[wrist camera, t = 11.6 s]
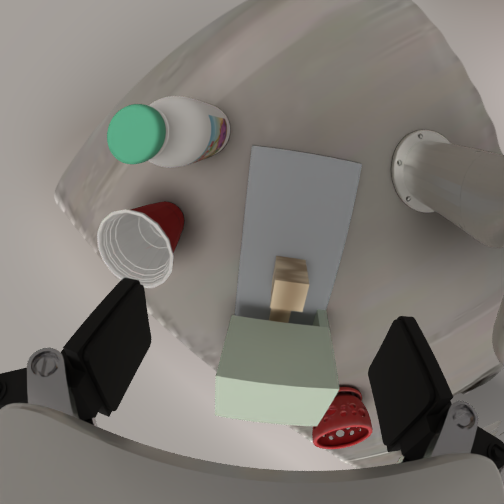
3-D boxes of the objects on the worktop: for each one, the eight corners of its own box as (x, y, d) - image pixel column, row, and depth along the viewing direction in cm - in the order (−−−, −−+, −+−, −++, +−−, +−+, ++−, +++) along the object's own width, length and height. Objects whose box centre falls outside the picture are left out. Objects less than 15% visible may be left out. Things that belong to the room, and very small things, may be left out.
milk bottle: (167, 129, 35) (75, 138, 17) (207, 93, 32) (136, 63, 14) (200, 168, 37) (129, 206, 19) (242, 133, 34) (201, 134, 16)
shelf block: (325, 306, 45) (339, 388, 29) (311, 347, 49) (317, 426, 33) (237, 294, 45) (215, 375, 29) (233, 337, 50) (214, 415, 34)
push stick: (305, 259, 40) (309, 284, 34) (282, 354, 49) (281, 382, 43) (276, 255, 40) (275, 279, 34) (259, 351, 49) (256, 379, 43)
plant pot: (304, 410, 58) (304, 450, 48) (321, 379, 53) (325, 425, 42) (351, 412, 58) (356, 450, 47) (373, 382, 52) (383, 424, 42)
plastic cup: (140, 248, 44) (103, 285, 33) (135, 185, 39) (90, 207, 28) (200, 255, 43) (175, 298, 32) (200, 188, 38) (169, 212, 27)
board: (359, 163, 34) (361, 164, 33) (309, 354, 50) (309, 358, 49) (252, 145, 35) (252, 145, 34) (232, 345, 50) (231, 348, 50)
